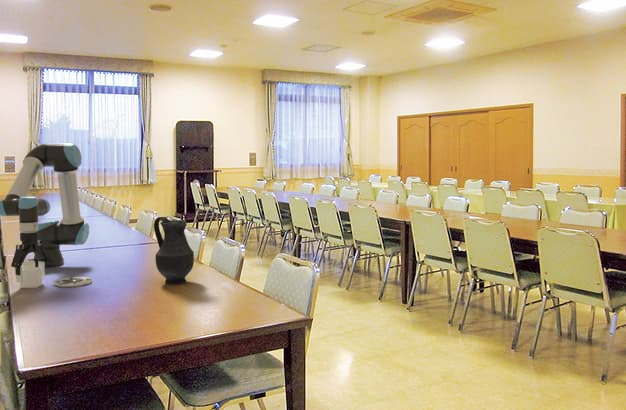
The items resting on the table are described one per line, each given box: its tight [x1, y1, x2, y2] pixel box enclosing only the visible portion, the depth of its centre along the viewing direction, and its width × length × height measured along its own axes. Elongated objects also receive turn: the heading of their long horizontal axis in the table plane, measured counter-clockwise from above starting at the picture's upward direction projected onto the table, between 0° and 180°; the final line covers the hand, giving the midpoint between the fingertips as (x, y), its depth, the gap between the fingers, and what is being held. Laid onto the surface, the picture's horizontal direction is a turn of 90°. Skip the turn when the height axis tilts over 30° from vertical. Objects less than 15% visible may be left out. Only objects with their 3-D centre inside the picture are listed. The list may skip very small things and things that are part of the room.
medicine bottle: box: [19, 258, 43, 289], centre depth 258 cm, size 7×7×12 cm
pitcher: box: [153, 216, 195, 285], centre depth 267 cm, size 17×21×30 cm
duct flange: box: [53, 276, 93, 288], centre depth 265 cm, size 16×16×2 cm
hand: (31, 279), depth 259 cm, fingers open, 13 cm apart
